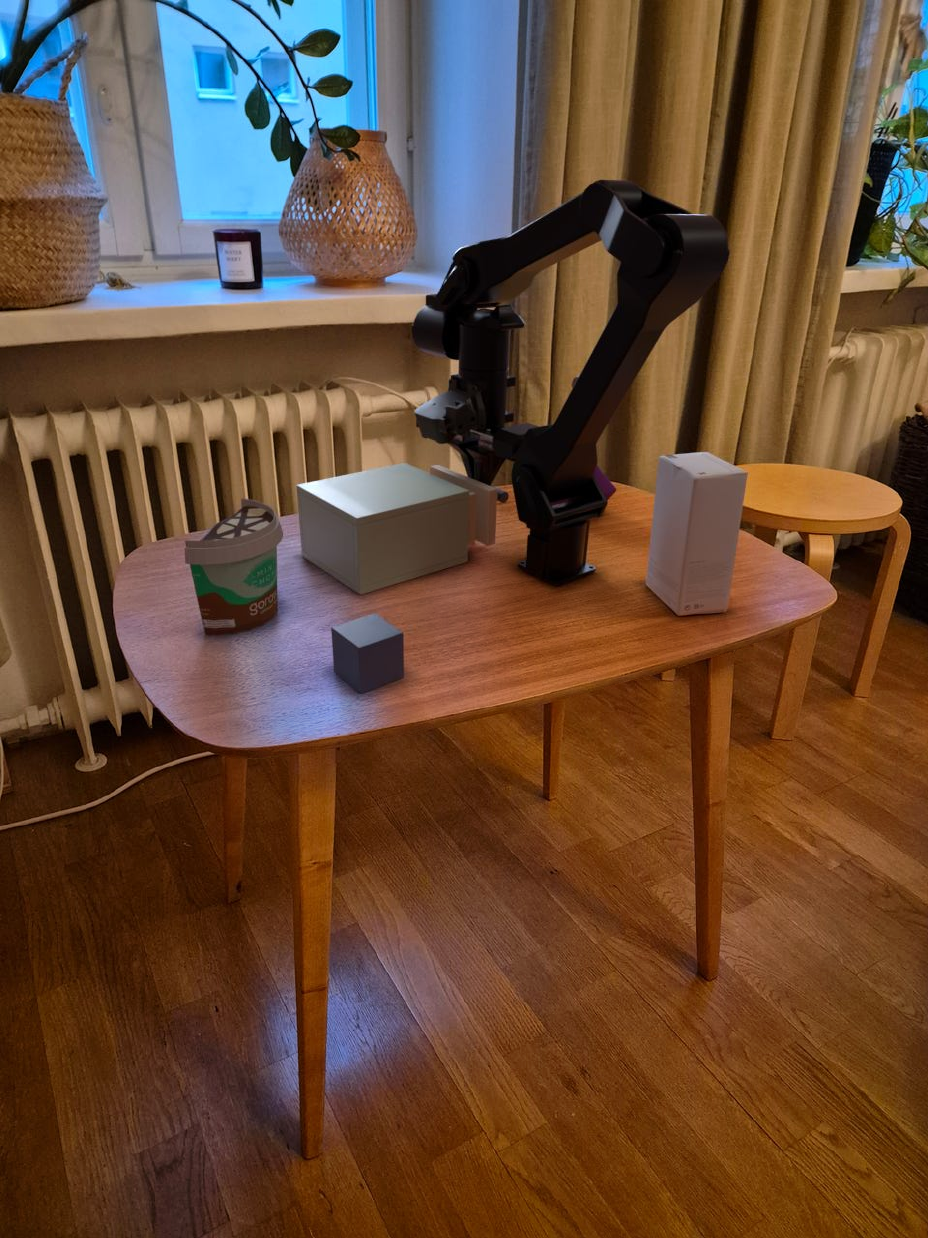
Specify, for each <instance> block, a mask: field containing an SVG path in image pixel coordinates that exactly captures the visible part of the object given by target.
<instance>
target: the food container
mask: <svg viewBox="0 0 928 1238" xmlns="http://www.w3.org/2000/svg"><path fill="white" fill-rule="evenodd" d="M240 502H241V503H240V505H241V508H240V509H238V511H237V512H236V513H234V514H233V515H231V516H230V517H227V518H224V519H222V520H220V521H218V522H217V523H216V524H215V525H214V526H213V527H212V528H211V529H210V530H209V531H208V533H206V534H205V536H204V537H203V538H201V539H200V540H191V539H190V540H189V539H185V540H184V543H185V547H184V564H185V565H189V567H190V572H191V577H192V581H193V585H194V586H193V587H194V590H195V595H196V600H197V604H198V608H199V613H200V617H201V622H202V627H203V631H204V635H214V636H218V635H219V636H221V635H235V634H240V633H244V632H245V633H246V632H250V631H252V630H255V629H257V628H260V627H262V626H265V625H266V624H267V623H270V622H271V621H272V620H273V619H274V618H275V617H276V615H277V613H278V608H279V607H278V548H277V547H278V545H280V543H281V542H282V541H283V538H284V531H283V528H282V525H281V522H280V518H279V515H277V514H276V512H275V510H274V508H272V507H271V506H270V505H268V504H266V503H264V502H261V501H258V500H254V499H250V498H243V497H241V498H240Z"/></svg>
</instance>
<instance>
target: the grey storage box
mask: <svg viewBox="0 0 928 1238" xmlns="http://www.w3.org/2000/svg"><path fill="white" fill-rule="evenodd" d="M427 472H428V471H426V472H425V470H422V469H420V468H418V467H416V466H412V465H411V464H408V463H406V462H401V463H395V464H391V465H387V466H386V465H385V466H382V467H377V468H372V469H366V470H363V471H358V472H357V471H356V472H353V473H348V474H343V475H342V474H341V475H338V476H334V477H329V478H324V479H319V480H315V481H309V482H303V483H299V484H296V496H297V497H296V498H297V511H298V520H299V522H298V523H299V534H300V535H299V537H300V549H301V557H303V558H304V559H306V560H307V561H309V562H310V563H312V564H313V565H315V566H316V567H318V568H319V569H321V570H323V571H324V572H325V573H326V574H329V575H330V576H331V577H333V578H334V579H335V580H337V581H339V582H340V583H341V584H343V585H344V586H346V587H347V588H349V589H350V590H352V591H353V592H355V593H357V594H358V595H359V596H361V595H364V594H368V593H371V592H374V591H377V590H382V589H384V588H387V587H390V586H393V585H397V584H400V583H403V582H406V581H409V580H413V579H416V578H420V577H423V576H426V575H429V574H433V573H437V572H439V571H441V570H445V569H448V568H453V567H455V566H458V565H461V564H464V563H468V559H469V552H468V551H469V546H468V526H469V490H466V489H464V488H462V487H459V486H457V485H455V484H452V483H450V482H448V481H445V480H443V479H441V478H439V477H436V476H434V475H432V474H430V472H428V473H427Z"/></svg>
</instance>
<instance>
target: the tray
mask: <svg viewBox="0 0 928 1238" xmlns="http://www.w3.org/2000/svg"><path fill="white" fill-rule="evenodd" d="M429 469H430V470H429V472H428V471H425V470H424V471H425V472H427V473H429V474H432V475H434V476H436V477H439V478H441V479H443V480H445V481H448V482H450V483H452V484H455V485H457V486H459V487H462V488H464V489H466V490H469V526H468V547H471V546H474V545H476V542H479V543H480V544H482V545H485V546H486V547H489V546H492V545H495V544H496V532H497V531H496V529H497V511H498V510H497V505H498V502H499V503H502V504H505V503H506V502H508V500H509V497H510V495H509V492H508V491H505V490H503V489H501V488H498V487H496V486H493V485H491V486H488V485H486V484H484V483H481V482H479V481H476V480H474V479H471V478H469V477H468V476H467V475H464V474H462V473H459V472H458V471H455V470H452V469H449V468H447V467H445V466H442V465H440V464H433V465H430V466H429Z"/></svg>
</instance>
